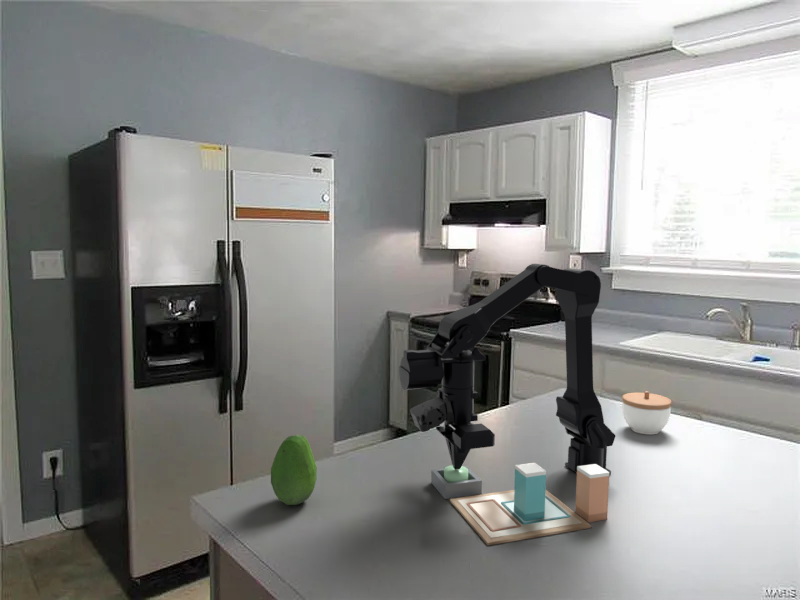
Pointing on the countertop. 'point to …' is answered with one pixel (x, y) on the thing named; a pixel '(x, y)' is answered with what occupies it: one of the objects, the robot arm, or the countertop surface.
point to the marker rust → (592, 492)
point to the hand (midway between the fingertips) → (456, 468)
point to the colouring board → (514, 517)
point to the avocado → (294, 471)
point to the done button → (455, 474)
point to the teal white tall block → (529, 491)
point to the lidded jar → (646, 412)
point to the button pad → (456, 484)
